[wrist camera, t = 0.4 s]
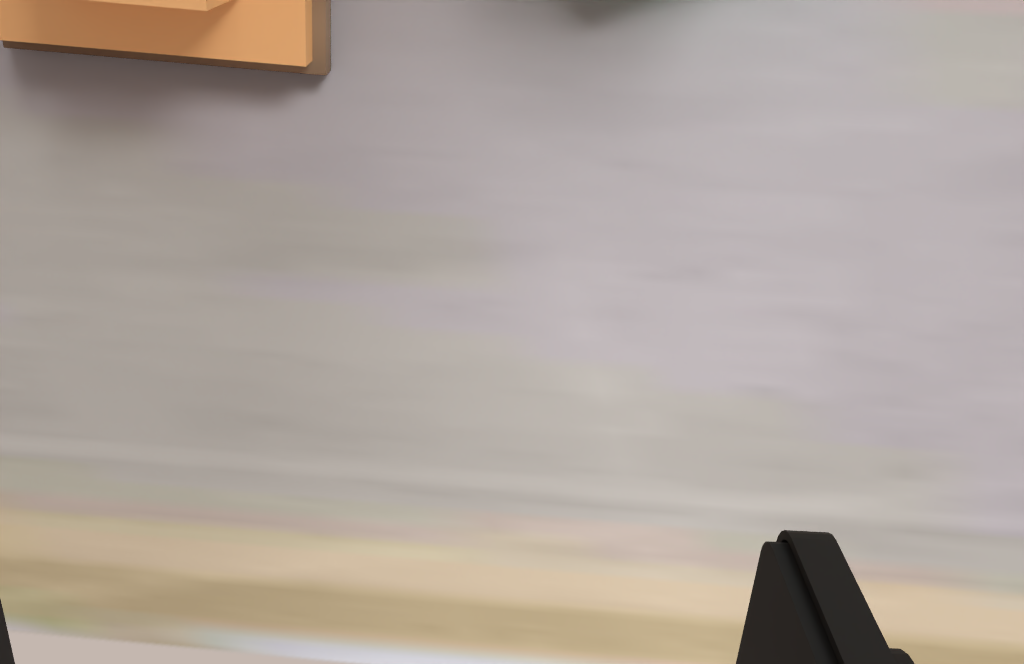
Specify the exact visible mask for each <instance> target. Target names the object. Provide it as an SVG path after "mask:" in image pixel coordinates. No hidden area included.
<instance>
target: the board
mask: <svg viewBox="0 0 1024 664" xmlns="http://www.w3.org/2000/svg"><path fill="white" fill-rule="evenodd" d="M3 46H4V48H15V49H27V50H38V51H50V52H61V53H73V54H85V55H96V56H108V57H119V58H131V59H142V60H154V61H165V62H177V63H188V64H200V65H211V66H223V67H234V68H246V69H258V70H269V71H281V72H292V73H304V74H315V75H327V74H328V73H329V72H330V71H331V0H312V62H310V63H309V64H308V65H307V66H306V67H304V66H292V65H281V64H269V63H258V62H246V61H235V60H223V59H212V58H200V57H189V56H177V55H166V54H154V53H143V52H131V51H120V50H108V49H97V48H85V47H74V46H62V45H51V44H39V43H28V42H16V41H5V40H3Z"/></svg>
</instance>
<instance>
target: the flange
mask: <svg viewBox="0 0 1024 664" xmlns="http://www.w3.org/2000/svg"><path fill="white" fill-rule="evenodd" d="M0 40H5V41H16V42H28V43H39V44H51V45H62V46H74V47H85V48H97V49H108V50H120V51H131V52H143V53H154V54H166V55H177V56H189V57H200V58H212V59H223V60H235V61H246V62H258V63H269V64H281V65H292V66H304V67H306V66H307V65H308V64H309V63H310V62H312V0H0Z"/></svg>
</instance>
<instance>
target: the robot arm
mask: <svg viewBox="0 0 1024 664" xmlns="http://www.w3.org/2000/svg"><path fill="white" fill-rule="evenodd" d="M0 664H15V662H14V658H13V653H12V648H11V644H10V640H9V635H8V631H7V626H6V622H5V617H4V613H3V608H2V604H1V600H0ZM736 664H914V662H913V661H912V659H911V658H910V656H909V655H908V654H907V653H905V652H904V651H903V650H901V649H892V648H889V647H888V645H887V643H886V641H885V639H884V637H883V635H882V633H881V631H880V629H879V627H878V625H877V623H876V621H875V619H874V617H873V615H872V613H871V610H870V608H869V606H868V604H867V602H866V600H865V598H864V596H863V594H862V592H861V590H860V588H859V586H858V584H857V582H856V580H855V578H854V576H853V574H852V572H851V570H850V568H849V566H848V563H847V561H846V559H845V557H844V555H843V553H842V551H841V549H840V547H839V545H838V543H837V541H836V539H835V538H834V536H833V535H832V534H830V533H826V532H807V531H789V530H784V531H782V532H781V533H780V534H779V536H778V538H777V541H776V542H765V543H764V544H763V546H762V549H761V553H760V558H759V562H758V567H757V571H756V576H755V580H754V585H753V589H752V594H751V598H750V603H749V607H748V612H747V616H746V621H745V625H744V630H743V634H742V639H741V643H740V648H739V652H738V657H737V662H736Z"/></svg>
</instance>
